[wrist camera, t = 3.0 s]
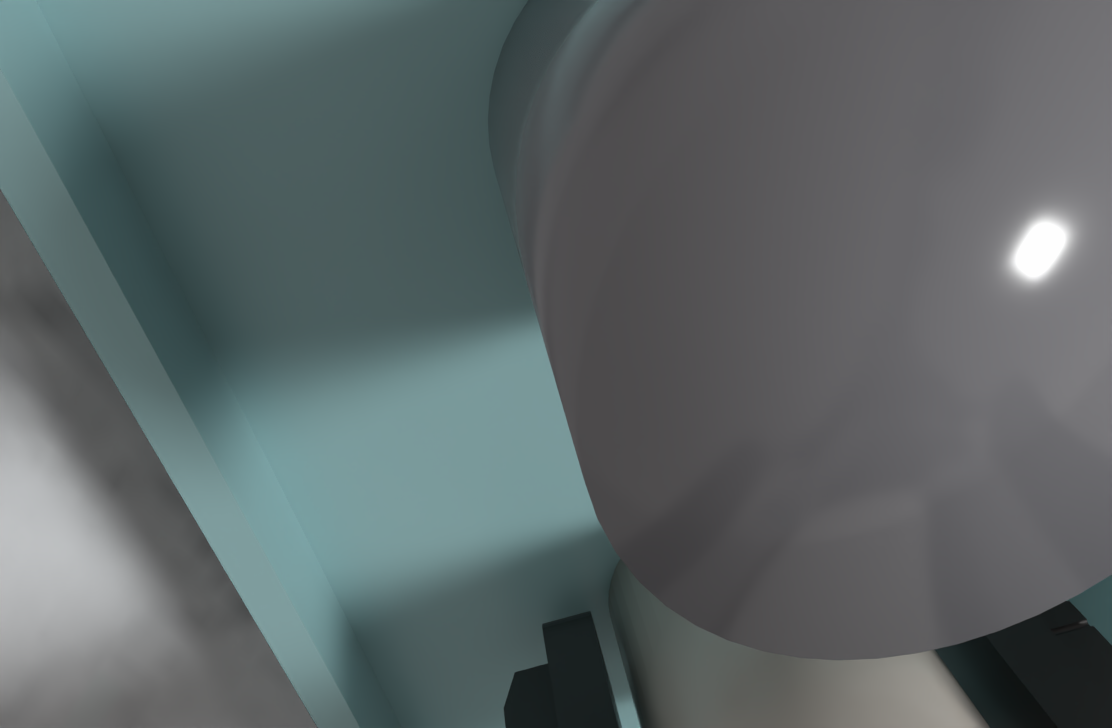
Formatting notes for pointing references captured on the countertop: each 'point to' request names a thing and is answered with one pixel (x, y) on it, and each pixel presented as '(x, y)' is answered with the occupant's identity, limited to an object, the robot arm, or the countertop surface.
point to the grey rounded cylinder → (826, 302)
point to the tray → (323, 328)
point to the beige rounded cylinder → (769, 678)
